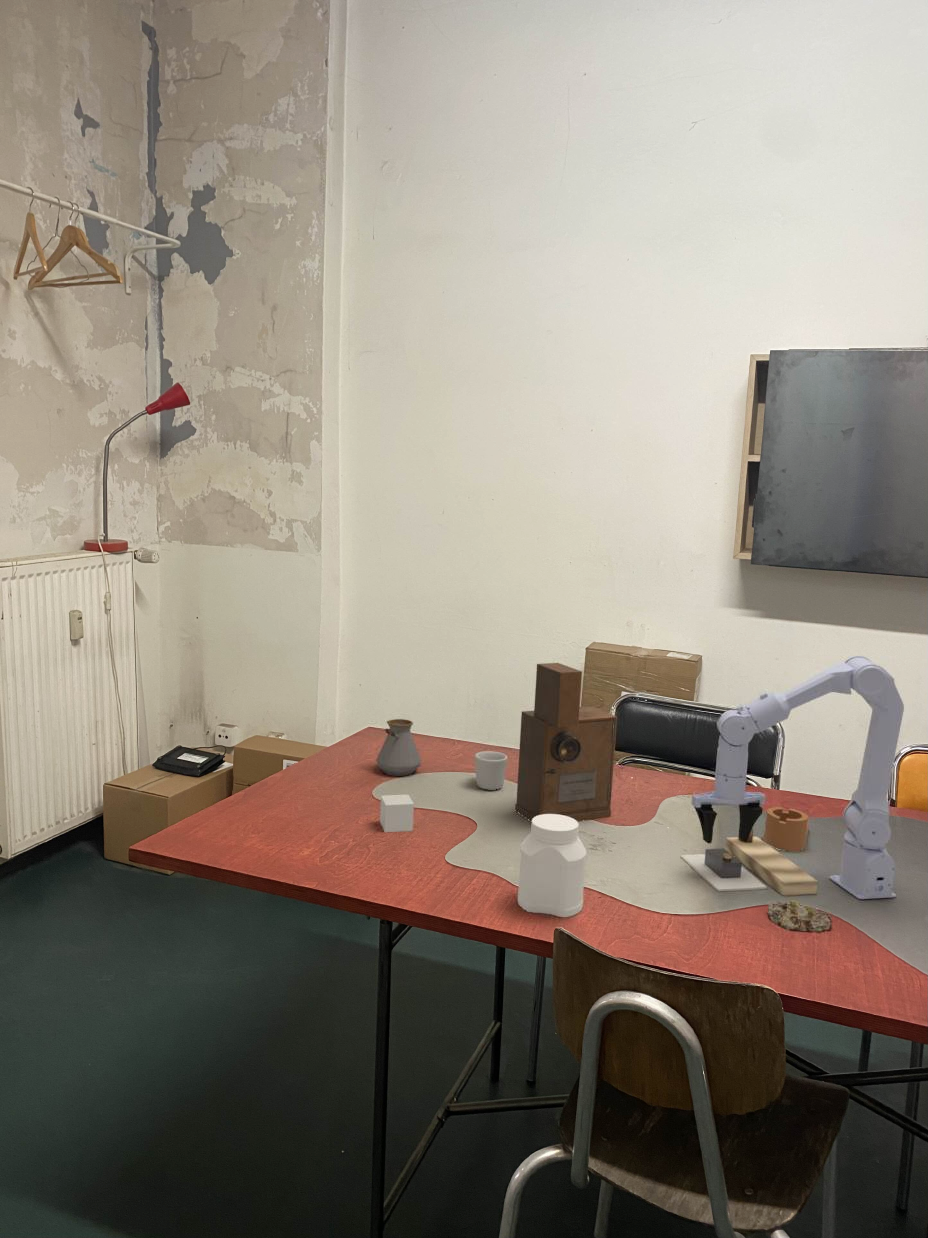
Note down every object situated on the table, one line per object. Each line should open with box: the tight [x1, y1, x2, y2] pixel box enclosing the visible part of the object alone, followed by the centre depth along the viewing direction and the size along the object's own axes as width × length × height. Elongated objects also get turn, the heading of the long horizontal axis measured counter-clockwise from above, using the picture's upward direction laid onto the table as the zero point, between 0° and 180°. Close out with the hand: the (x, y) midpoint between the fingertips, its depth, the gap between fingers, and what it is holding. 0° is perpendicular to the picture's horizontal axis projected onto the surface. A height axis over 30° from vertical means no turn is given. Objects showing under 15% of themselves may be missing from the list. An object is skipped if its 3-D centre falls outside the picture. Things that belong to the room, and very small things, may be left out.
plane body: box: [724, 827, 819, 897], centre depth 179 cm, size 22×7×5 cm, turn 12°
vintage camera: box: [514, 662, 618, 822], centre depth 201 cm, size 19×14×35 cm
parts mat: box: [679, 853, 768, 892], centre depth 177 cm, size 16×10×1 cm, turn 12°
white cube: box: [379, 794, 415, 833], centre depth 193 cm, size 6×6×6 cm
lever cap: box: [704, 847, 743, 879], centre depth 177 cm, size 7×4×4 cm, turn 12°
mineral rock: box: [767, 899, 833, 933], centre depth 157 cm, size 11×4×8 cm
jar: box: [517, 814, 587, 918], centre depth 159 cm, size 12×10×15 cm
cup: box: [474, 750, 509, 791], centre depth 223 cm, size 11×8×8 cm
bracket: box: [763, 806, 810, 852], centre depth 198 cm, size 18×8×7 cm, turn 156°
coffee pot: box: [375, 718, 422, 777], centre depth 225 cm, size 21×12×15 cm, turn 171°
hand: (725, 840), depth 176 cm, fingers open, 7 cm apart
